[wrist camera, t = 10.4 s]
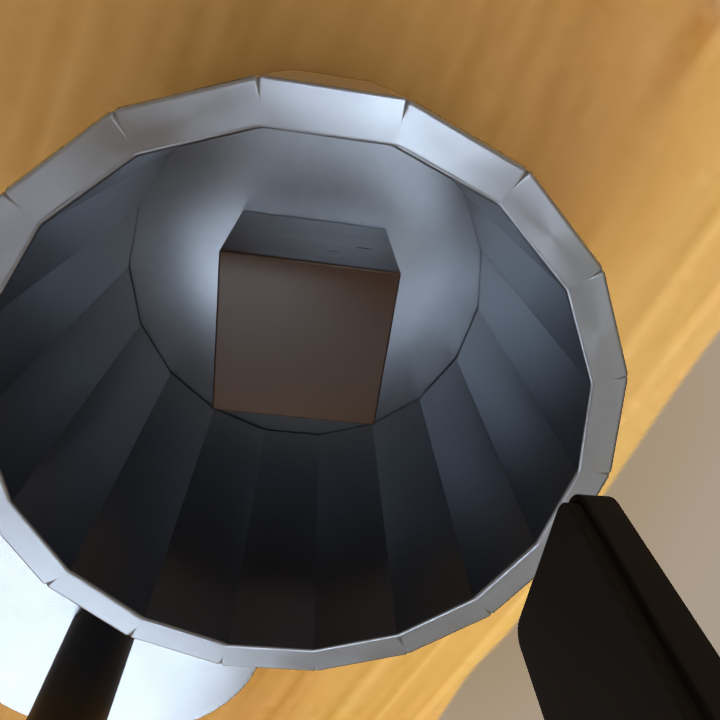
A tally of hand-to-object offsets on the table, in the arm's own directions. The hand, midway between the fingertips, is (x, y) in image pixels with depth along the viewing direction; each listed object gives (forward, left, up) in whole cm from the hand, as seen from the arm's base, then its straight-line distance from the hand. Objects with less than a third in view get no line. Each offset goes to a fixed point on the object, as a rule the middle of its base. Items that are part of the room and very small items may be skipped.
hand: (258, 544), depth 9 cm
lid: (+15, -6, -11) cm, 20 cm away
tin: (0, 0, -12) cm, 12 cm away
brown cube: (0, 0, -11) cm, 11 cm away
